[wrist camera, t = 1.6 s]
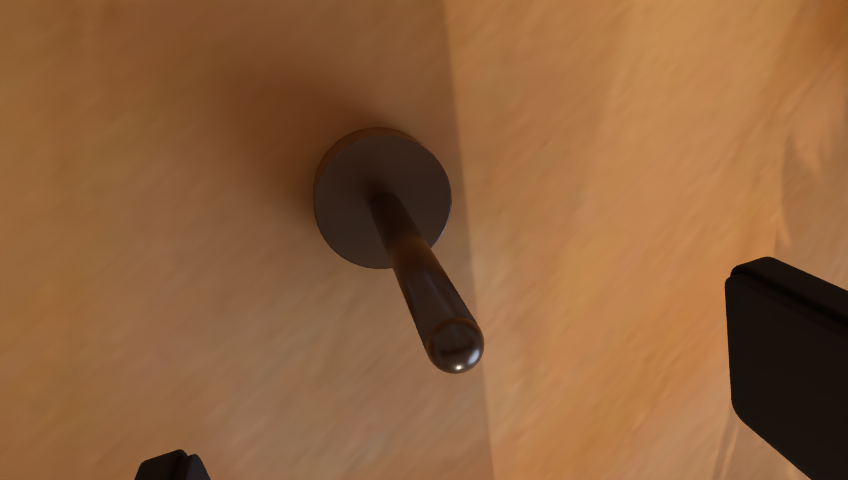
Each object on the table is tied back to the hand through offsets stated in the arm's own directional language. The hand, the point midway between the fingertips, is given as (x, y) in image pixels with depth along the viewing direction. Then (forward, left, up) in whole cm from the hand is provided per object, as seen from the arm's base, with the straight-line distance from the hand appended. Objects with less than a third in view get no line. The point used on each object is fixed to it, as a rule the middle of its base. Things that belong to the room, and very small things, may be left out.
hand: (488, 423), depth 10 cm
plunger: (0, 0, -15) cm, 15 cm away
